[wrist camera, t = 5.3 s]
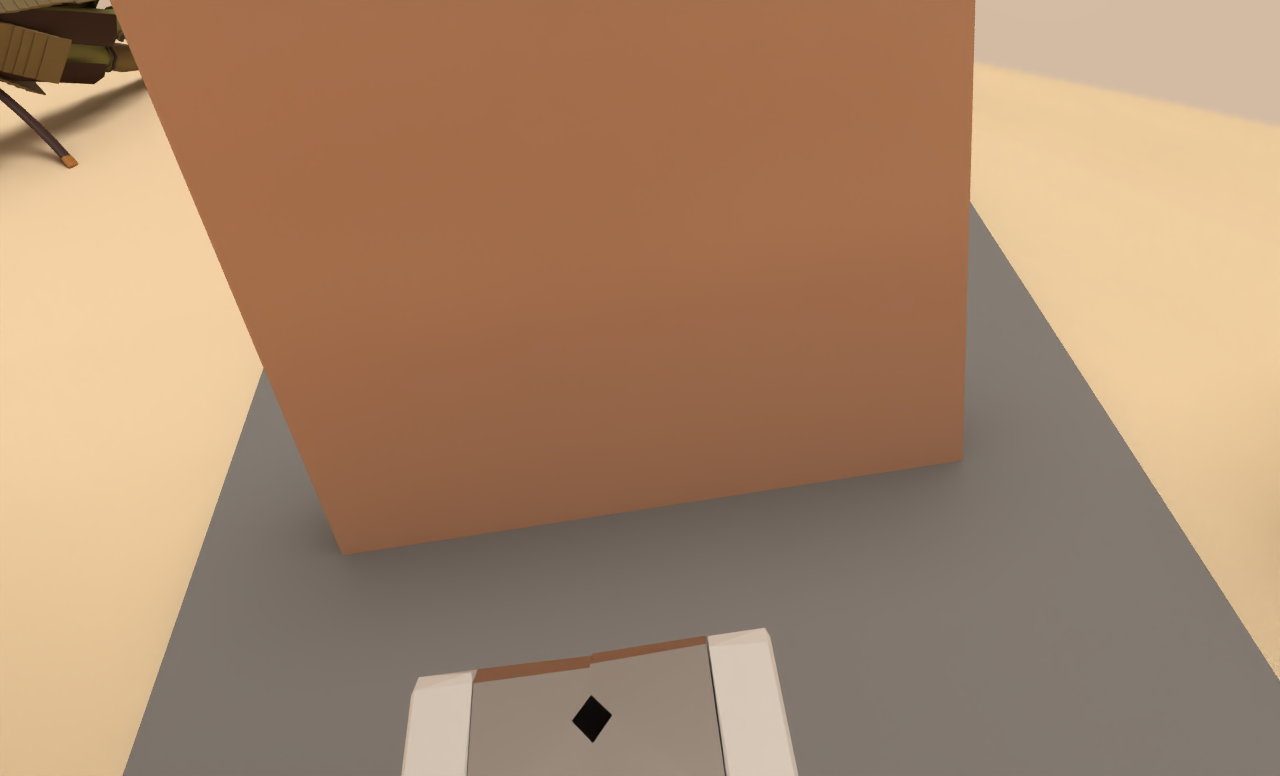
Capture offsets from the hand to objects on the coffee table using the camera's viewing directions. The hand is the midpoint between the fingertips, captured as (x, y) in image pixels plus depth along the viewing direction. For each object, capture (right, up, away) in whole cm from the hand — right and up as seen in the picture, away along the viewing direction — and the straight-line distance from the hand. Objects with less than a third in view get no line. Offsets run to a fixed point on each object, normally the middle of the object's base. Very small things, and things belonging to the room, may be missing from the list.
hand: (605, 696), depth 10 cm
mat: (0, +2, +15) cm, 15 cm away
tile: (0, +1, +13) cm, 13 cm away
